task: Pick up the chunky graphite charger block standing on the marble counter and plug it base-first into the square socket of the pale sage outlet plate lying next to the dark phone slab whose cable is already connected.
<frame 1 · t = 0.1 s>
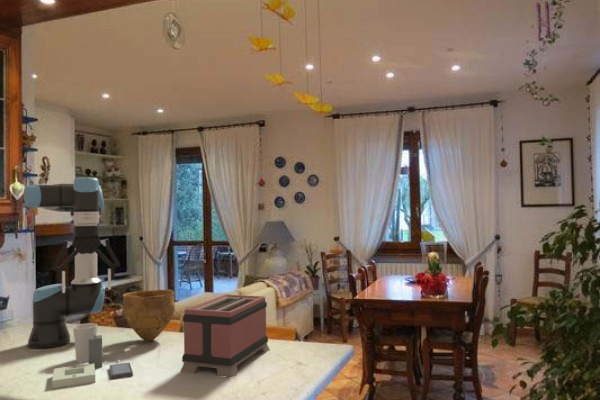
hand: (87, 290, 157), 28 cm above the worktop, fingers open, 13 cm apart
outlet plate: (74, 379, 155), on the worktop
charger: (95, 366, 167), on the worktop
toaster: (229, 359, 173), on the worktop
bowl: (149, 341, 197), on the worktop
cup: (85, 359, 175), on the worktop
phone: (121, 372, 160), on the worktop
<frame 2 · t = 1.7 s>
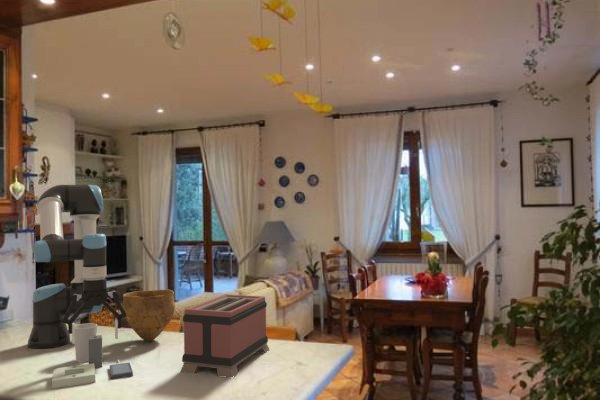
hand: (95, 340, 167), 9 cm above the worktop, fingers open, 13 cm apart
nothing on the worktop moved.
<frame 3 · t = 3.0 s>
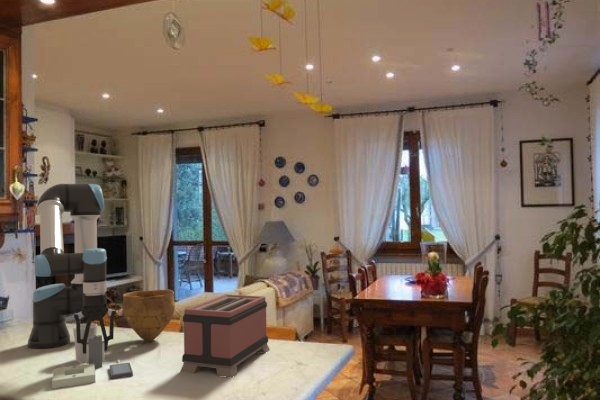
hand: (95, 361, 167), 2 cm above the worktop, fingers closed on charger, 4 cm apart
charger: (95, 366, 167), on the worktop, touching gripper
everything else where it was.
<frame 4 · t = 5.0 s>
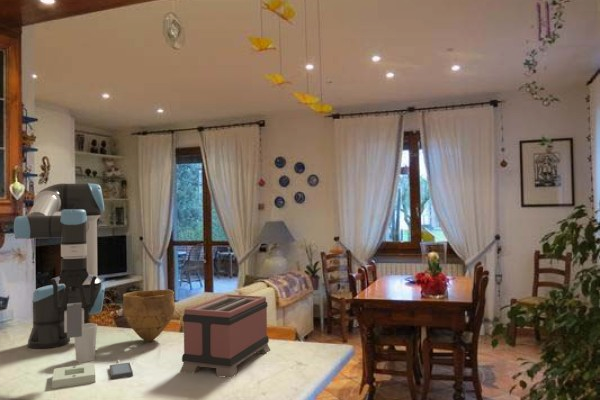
hand: (74, 330, 155), 16 cm above the worktop, fingers closed on charger, 4 cm apart
charger: (74, 335, 155), point 14 cm above the worktop, touching gripper
everything else where it was.
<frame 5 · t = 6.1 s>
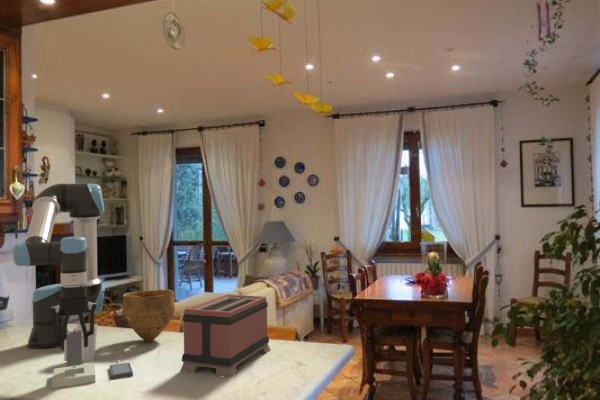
hand: (74, 358, 155), 7 cm above the worktop, fingers closed on charger, 4 cm apart
charger: (74, 363, 155), point 5 cm above the worktop, touching gripper
everything else where it was.
when the fingers open (3 cm above the worktop, at t = 6.9 s): charger drops 2 cm, resting in outlet plate.
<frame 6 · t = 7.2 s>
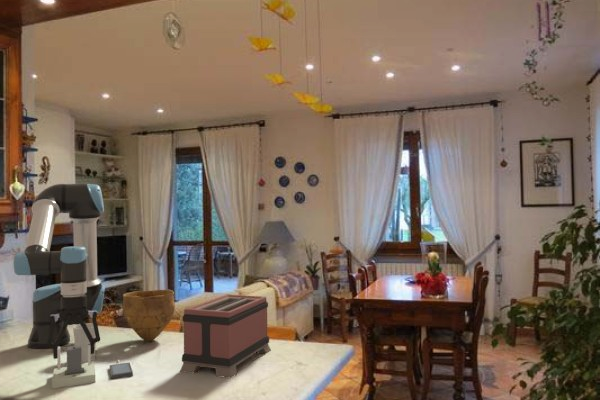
hand: (74, 366, 155), 4 cm above the worktop, fingers open, 8 cm apart
charger: (74, 379, 155), resting in outlet plate
everything else where it was.
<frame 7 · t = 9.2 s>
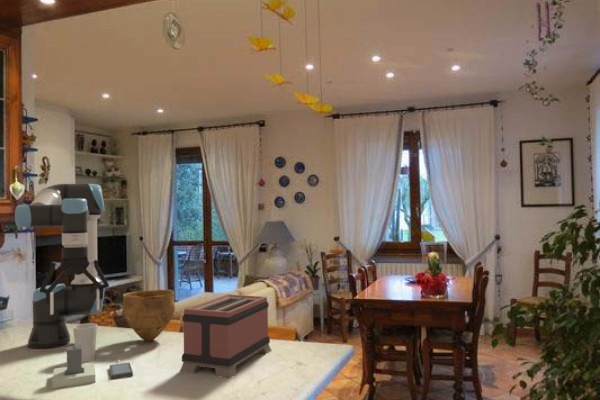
hand: (75, 311, 157), 21 cm above the worktop, fingers open, 13 cm apart
nothing on the worktop moved.
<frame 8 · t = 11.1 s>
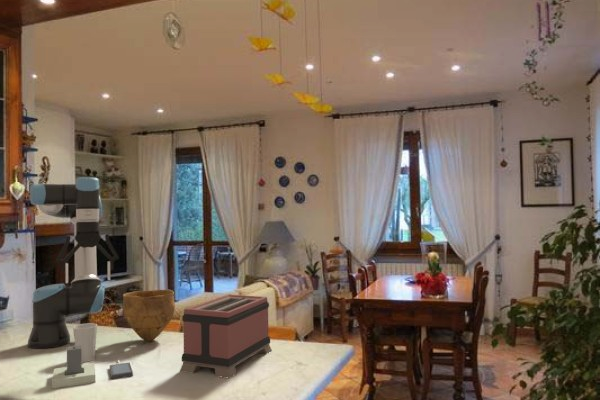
hand: (88, 281, 171), 29 cm above the worktop, fingers open, 13 cm apart
nothing on the worktop moved.
at the end: charger 0.0 cm off-centre on the outlet plate, point 0.0 cm above the outlet plate's base; charger tilted 0°; the gripper is holding nothing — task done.
